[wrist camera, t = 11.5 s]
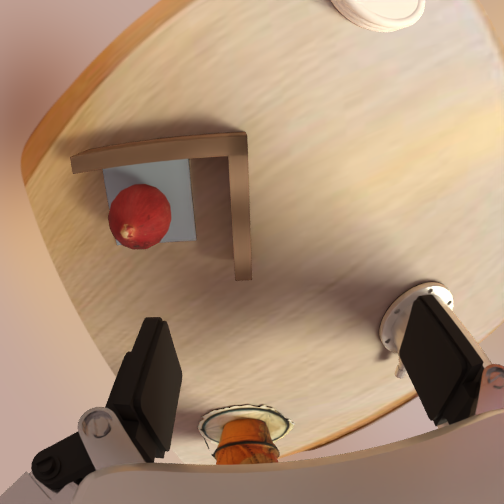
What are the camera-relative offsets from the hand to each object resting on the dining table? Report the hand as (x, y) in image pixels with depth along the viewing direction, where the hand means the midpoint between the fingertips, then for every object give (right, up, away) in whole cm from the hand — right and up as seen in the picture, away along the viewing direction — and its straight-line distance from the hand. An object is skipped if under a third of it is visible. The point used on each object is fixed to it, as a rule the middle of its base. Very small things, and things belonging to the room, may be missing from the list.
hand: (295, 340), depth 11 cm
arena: (-10, +8, +19) cm, 23 cm away
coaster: (+10, +30, +10) cm, 33 cm away
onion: (-12, +8, +19) cm, 24 cm away
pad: (-12, +8, +19) cm, 24 cm away
